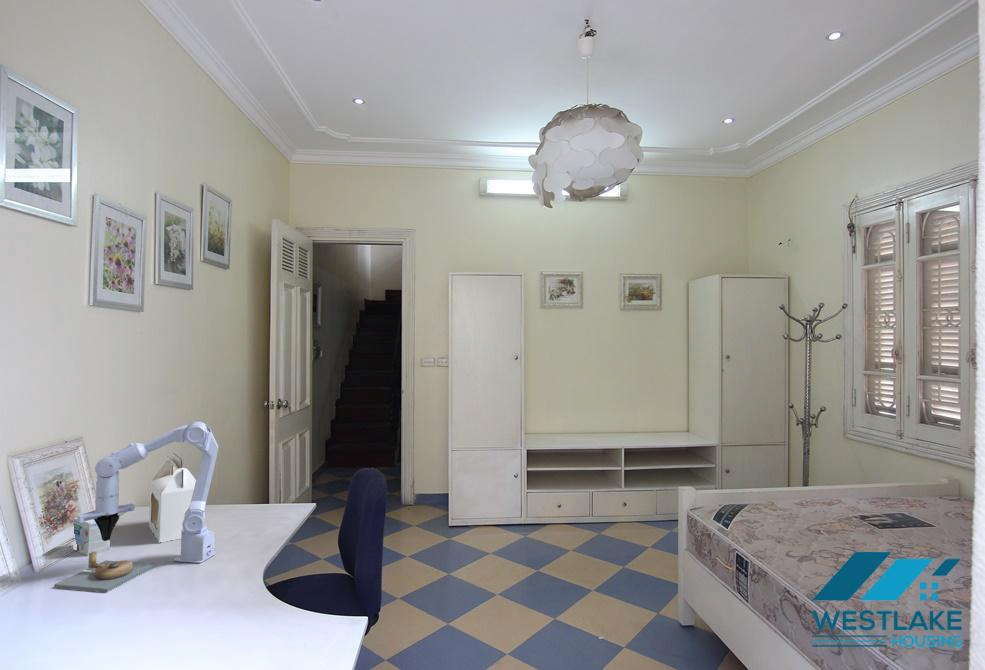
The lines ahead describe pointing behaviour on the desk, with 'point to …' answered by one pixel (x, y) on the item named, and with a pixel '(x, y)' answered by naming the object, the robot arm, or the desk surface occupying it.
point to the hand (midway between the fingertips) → (105, 539)
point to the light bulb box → (89, 537)
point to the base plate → (90, 583)
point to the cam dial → (109, 568)
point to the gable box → (170, 499)
